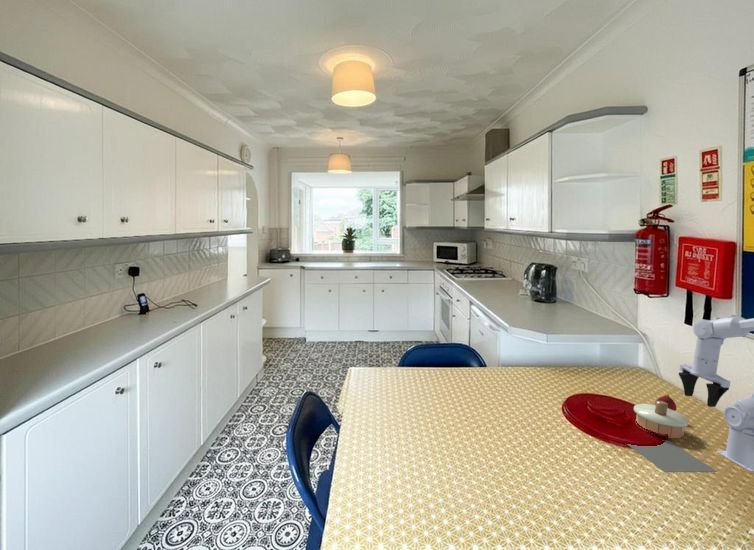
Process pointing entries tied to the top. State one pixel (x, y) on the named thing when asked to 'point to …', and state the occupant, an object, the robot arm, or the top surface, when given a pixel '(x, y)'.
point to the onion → (668, 402)
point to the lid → (661, 414)
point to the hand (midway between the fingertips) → (699, 400)
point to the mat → (672, 458)
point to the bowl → (660, 427)
